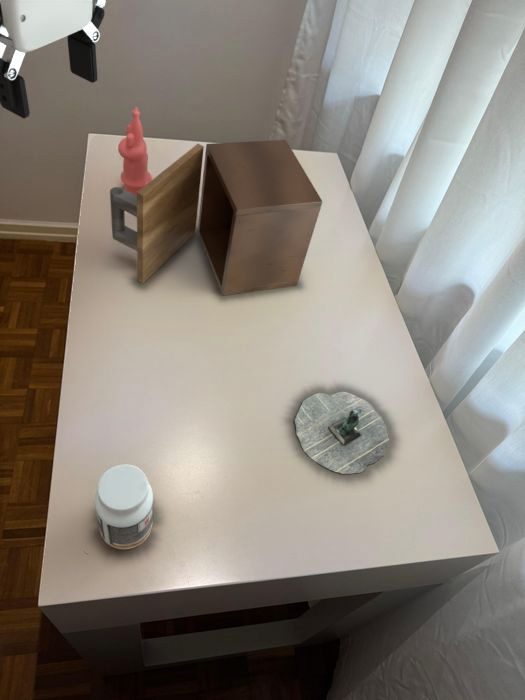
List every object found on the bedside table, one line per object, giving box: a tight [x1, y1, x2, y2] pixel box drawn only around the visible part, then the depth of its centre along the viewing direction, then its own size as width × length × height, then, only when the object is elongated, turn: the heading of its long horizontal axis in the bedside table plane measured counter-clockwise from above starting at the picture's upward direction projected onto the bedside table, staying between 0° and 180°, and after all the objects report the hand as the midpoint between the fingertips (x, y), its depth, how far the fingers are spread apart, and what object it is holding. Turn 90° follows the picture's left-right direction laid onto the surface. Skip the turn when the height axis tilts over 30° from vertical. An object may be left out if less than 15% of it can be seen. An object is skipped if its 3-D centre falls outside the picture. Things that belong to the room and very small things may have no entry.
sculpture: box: [294, 391, 390, 475], centre depth 73 cm, size 12×9×8 cm
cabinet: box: [197, 139, 323, 297], centre depth 84 cm, size 12×14×16 cm
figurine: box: [117, 106, 153, 196], centre depth 89 cm, size 5×5×15 cm
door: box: [109, 143, 205, 285], centre depth 82 cm, size 7×14×16 cm, turn 151°
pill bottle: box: [94, 463, 154, 550], centre depth 58 cm, size 6×6×10 cm
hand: (51, 93), depth 59 cm, fingers open, 9 cm apart
